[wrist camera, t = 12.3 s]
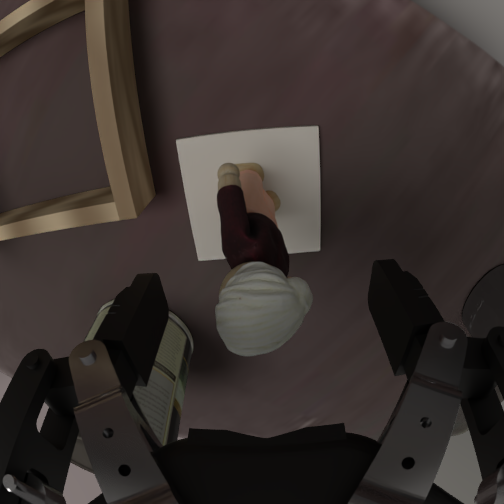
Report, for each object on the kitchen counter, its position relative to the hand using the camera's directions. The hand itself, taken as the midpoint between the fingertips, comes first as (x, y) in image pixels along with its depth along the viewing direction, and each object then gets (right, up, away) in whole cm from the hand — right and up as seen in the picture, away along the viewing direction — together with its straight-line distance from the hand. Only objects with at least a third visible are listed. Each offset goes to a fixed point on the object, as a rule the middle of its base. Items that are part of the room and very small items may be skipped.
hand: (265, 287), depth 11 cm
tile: (0, +5, +9) cm, 11 cm away
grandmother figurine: (0, +5, +9) cm, 10 cm away
